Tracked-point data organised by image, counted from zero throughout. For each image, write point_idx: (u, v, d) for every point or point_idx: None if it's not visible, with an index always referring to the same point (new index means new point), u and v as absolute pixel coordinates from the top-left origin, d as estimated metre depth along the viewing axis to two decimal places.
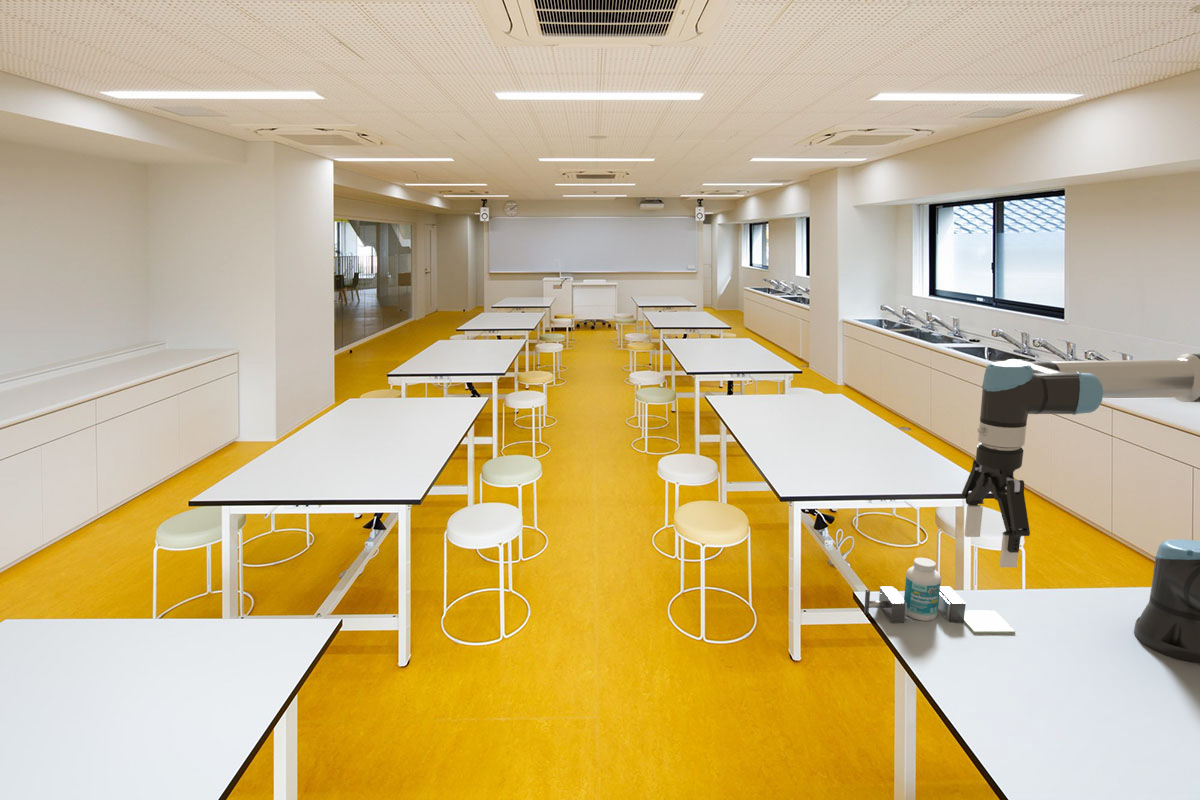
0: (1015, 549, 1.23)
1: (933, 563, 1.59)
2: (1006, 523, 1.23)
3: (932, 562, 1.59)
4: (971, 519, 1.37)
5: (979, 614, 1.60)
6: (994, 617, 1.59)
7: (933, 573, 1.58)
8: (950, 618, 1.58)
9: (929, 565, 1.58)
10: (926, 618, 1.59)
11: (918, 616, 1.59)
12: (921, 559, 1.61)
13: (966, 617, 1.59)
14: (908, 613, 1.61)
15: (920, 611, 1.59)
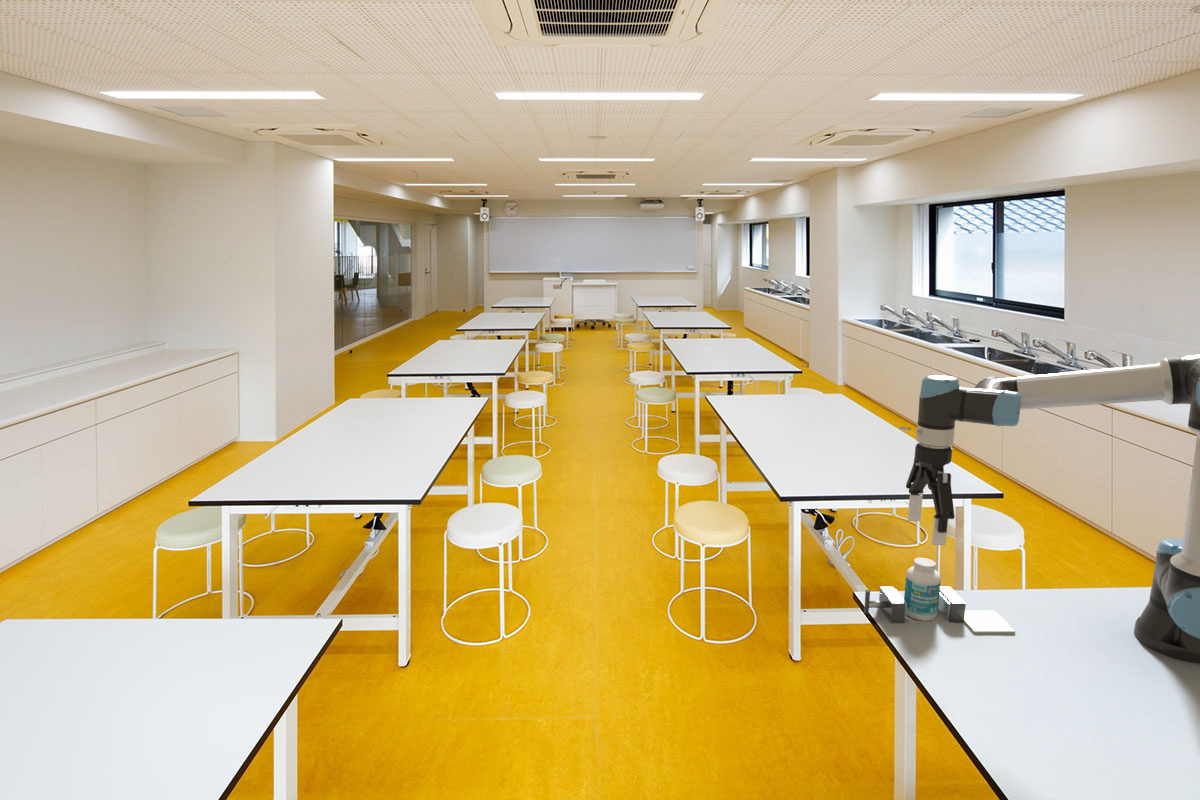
0: (943, 530, 1.49)
1: (933, 563, 1.59)
2: (936, 508, 1.50)
3: (932, 562, 1.59)
4: (913, 506, 1.64)
5: (979, 614, 1.60)
6: (994, 617, 1.59)
7: (933, 573, 1.58)
8: (950, 618, 1.58)
9: (929, 565, 1.58)
10: (926, 618, 1.59)
11: (918, 616, 1.59)
12: (921, 559, 1.61)
13: (966, 617, 1.59)
14: (908, 613, 1.61)
15: (920, 611, 1.59)
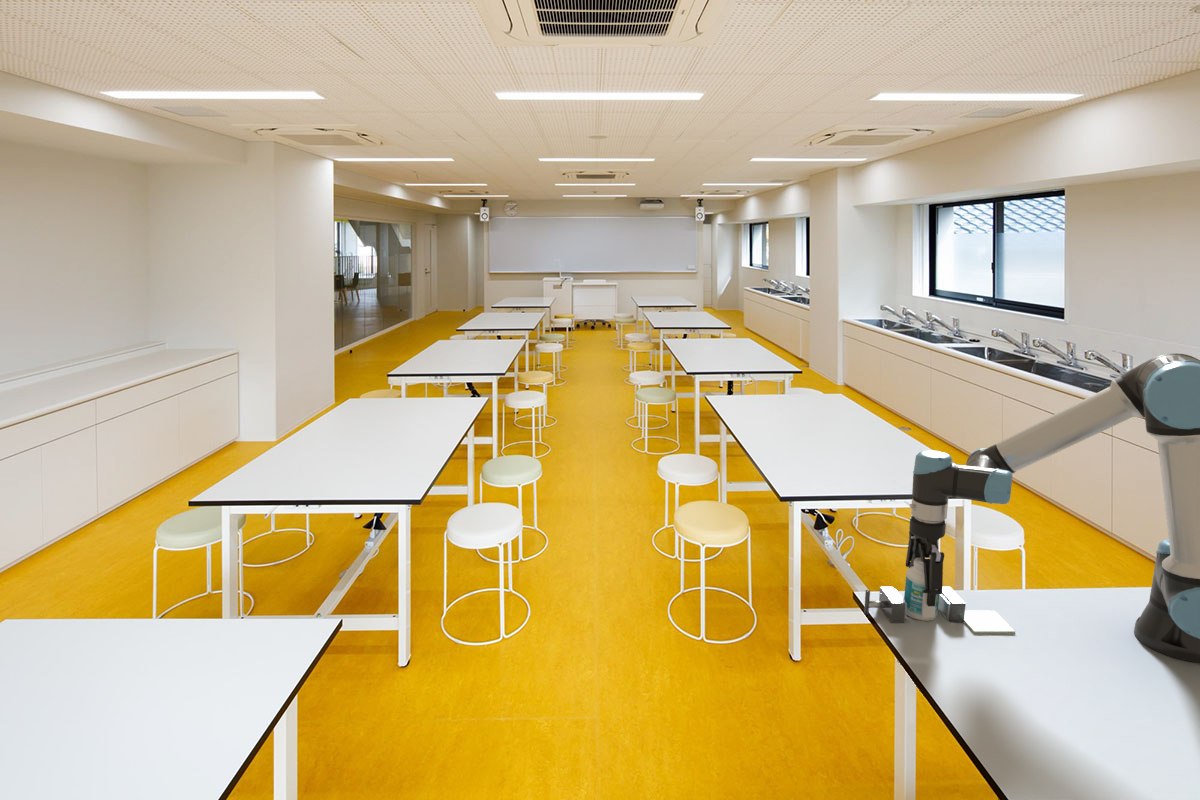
0: (932, 604, 1.56)
1: None
2: (926, 583, 1.56)
3: None
4: None
5: (979, 614, 1.60)
6: (994, 617, 1.59)
7: None
8: (950, 618, 1.58)
9: None
10: (926, 618, 1.59)
11: (918, 616, 1.59)
12: None
13: (966, 617, 1.59)
14: (908, 613, 1.61)
15: (920, 611, 1.59)
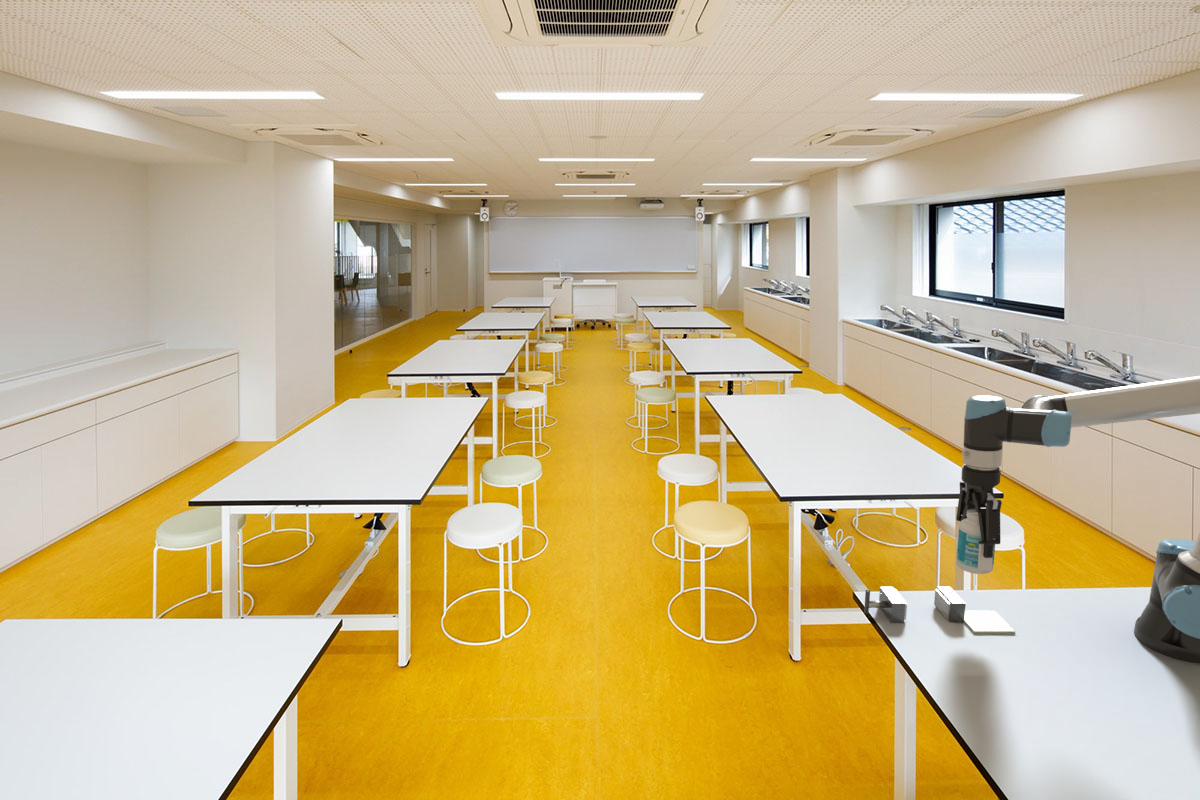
0: (989, 555, 1.49)
1: None
2: (982, 533, 1.49)
3: None
4: None
5: (979, 614, 1.60)
6: (994, 617, 1.59)
7: None
8: (950, 618, 1.58)
9: None
10: (982, 571, 1.52)
11: (974, 569, 1.52)
12: (974, 510, 1.55)
13: (966, 617, 1.59)
14: (963, 567, 1.54)
15: (976, 563, 1.52)
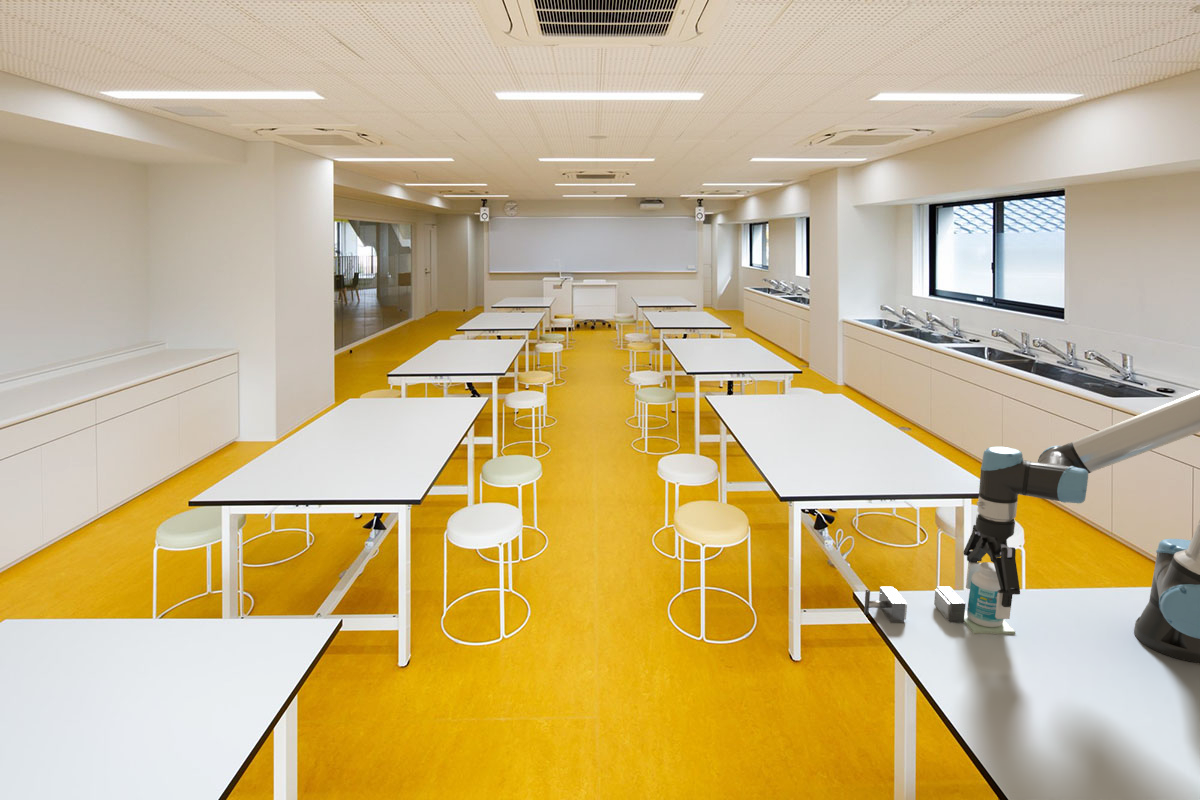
0: (1008, 604, 1.48)
1: None
2: (1000, 582, 1.48)
3: None
4: (971, 574, 1.62)
5: None
6: None
7: None
8: (950, 618, 1.58)
9: None
10: (993, 625, 1.54)
11: (984, 622, 1.55)
12: (987, 563, 1.56)
13: (966, 617, 1.59)
14: (973, 619, 1.56)
15: (987, 617, 1.54)
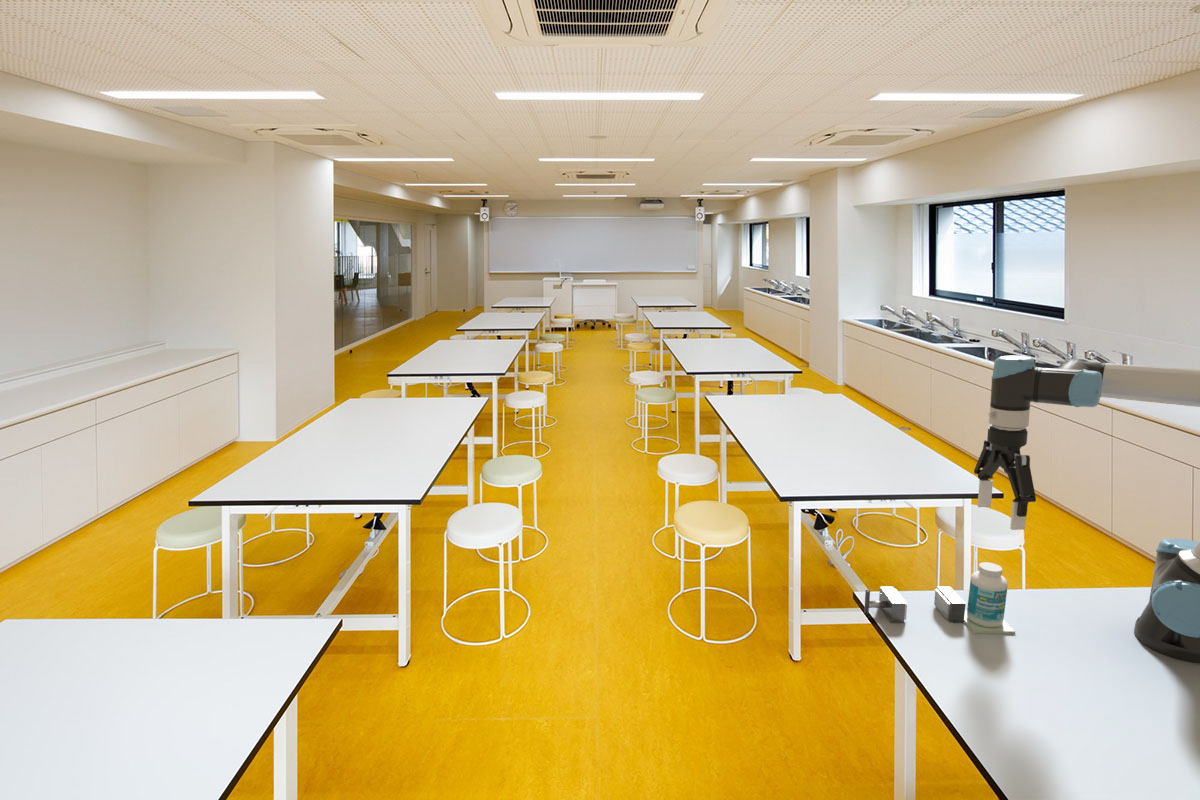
0: (1023, 513, 1.45)
1: (999, 568, 1.54)
2: (1015, 491, 1.46)
3: (998, 567, 1.55)
4: (983, 491, 1.60)
5: None
6: None
7: (1000, 578, 1.54)
8: (950, 618, 1.58)
9: (996, 570, 1.53)
10: (993, 625, 1.54)
11: (984, 622, 1.55)
12: (986, 563, 1.56)
13: (966, 617, 1.59)
14: (973, 619, 1.56)
15: (987, 617, 1.54)
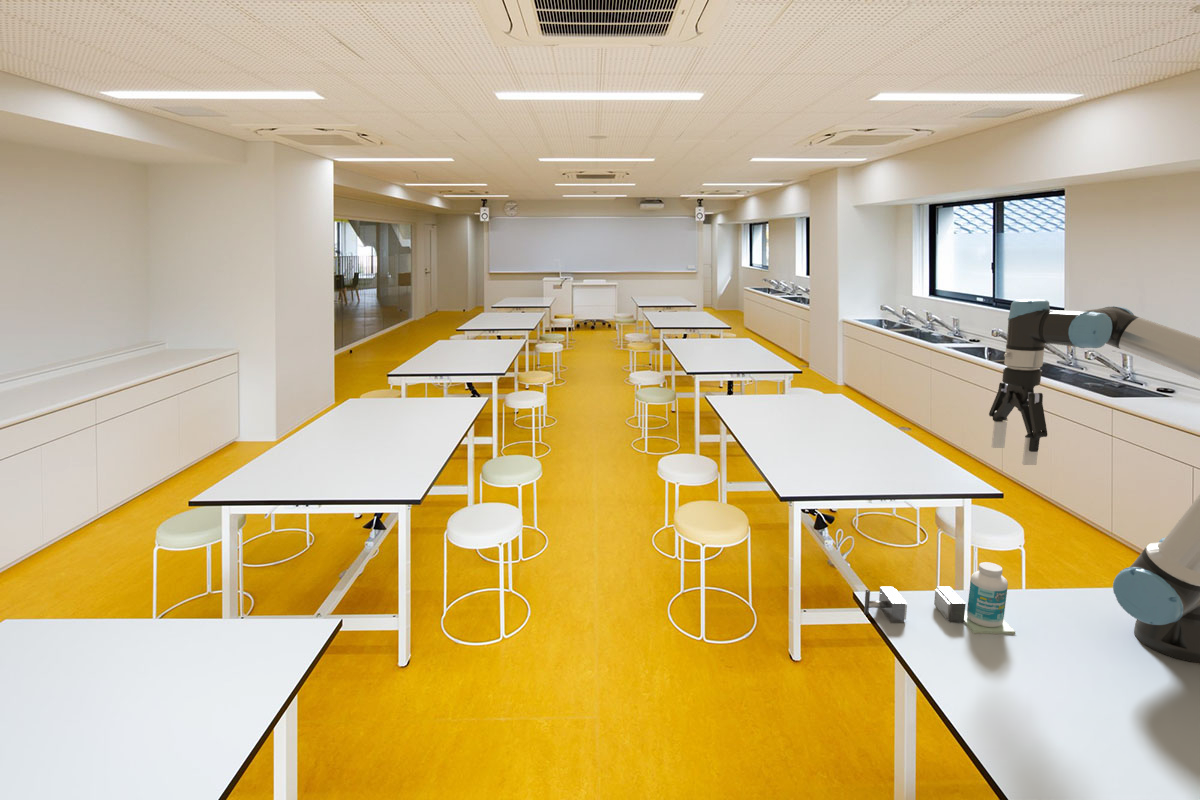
0: (1035, 449, 1.52)
1: (1000, 568, 1.54)
2: (1028, 428, 1.53)
3: (998, 567, 1.55)
4: (997, 432, 1.67)
5: None
6: None
7: (1000, 578, 1.54)
8: (950, 618, 1.58)
9: (997, 570, 1.53)
10: (993, 625, 1.54)
11: (984, 622, 1.55)
12: (986, 563, 1.56)
13: (966, 617, 1.59)
14: (973, 619, 1.56)
15: (987, 617, 1.54)
